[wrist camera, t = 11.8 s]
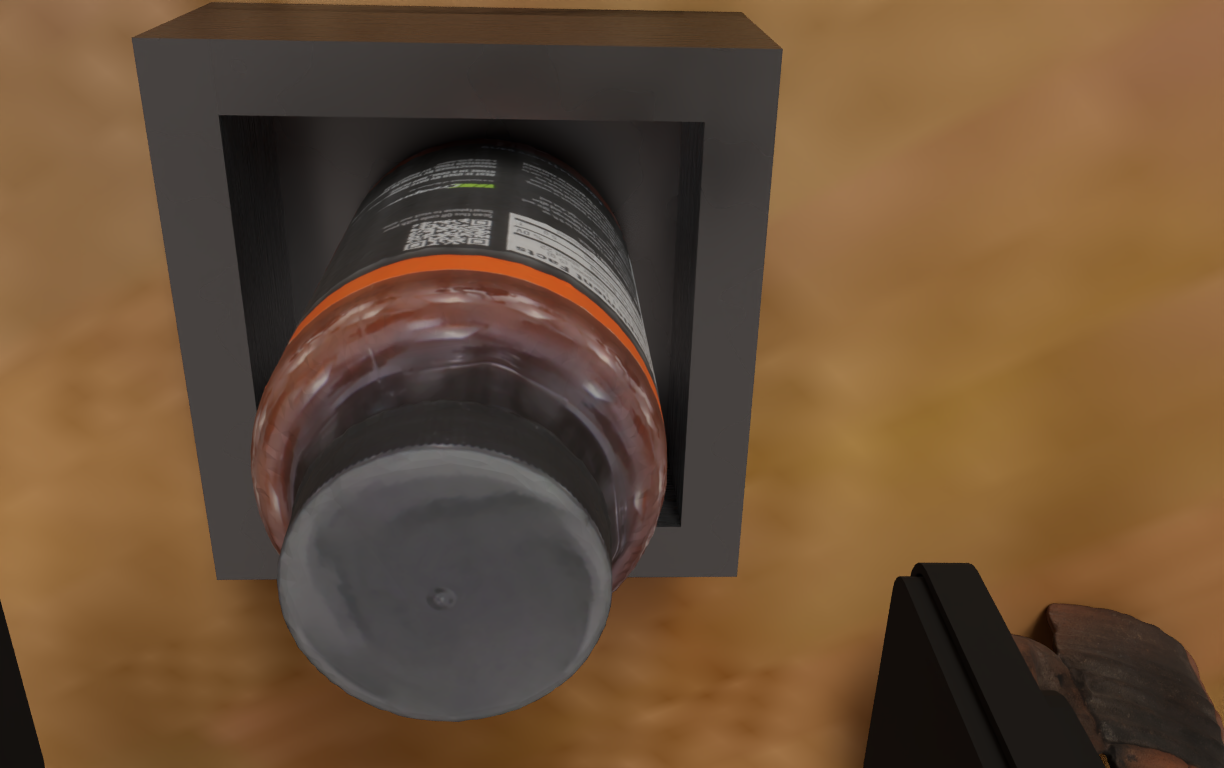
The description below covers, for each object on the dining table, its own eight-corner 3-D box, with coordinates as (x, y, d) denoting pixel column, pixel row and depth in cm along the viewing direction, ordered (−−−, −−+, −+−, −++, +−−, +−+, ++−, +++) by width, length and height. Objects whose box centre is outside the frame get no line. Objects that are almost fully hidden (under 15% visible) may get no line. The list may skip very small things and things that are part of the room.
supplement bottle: (459, 445, 25) (392, 856, 15) (285, 234, 23) (63, 549, 13) (685, 306, 24) (781, 651, 14) (525, 68, 22) (497, 270, 11)
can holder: (211, 2, 22) (131, 37, 18) (741, 12, 22) (782, 49, 18) (270, 466, 26) (217, 579, 22) (710, 465, 27) (736, 576, 23)
